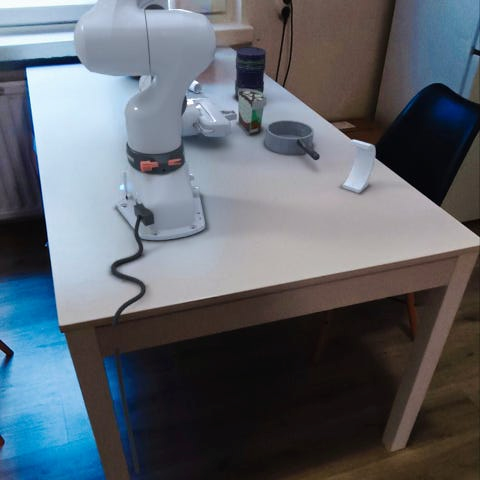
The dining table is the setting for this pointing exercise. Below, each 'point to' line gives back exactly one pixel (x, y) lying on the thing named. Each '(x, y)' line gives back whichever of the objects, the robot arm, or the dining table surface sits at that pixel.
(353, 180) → the headphone stand
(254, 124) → the food container
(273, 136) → the saucepan
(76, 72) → the dining table surface
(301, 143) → the saucepan handle
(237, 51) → the storage jar
